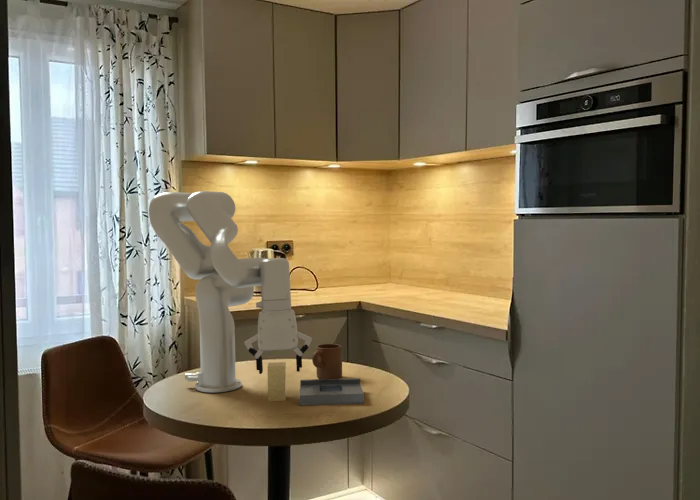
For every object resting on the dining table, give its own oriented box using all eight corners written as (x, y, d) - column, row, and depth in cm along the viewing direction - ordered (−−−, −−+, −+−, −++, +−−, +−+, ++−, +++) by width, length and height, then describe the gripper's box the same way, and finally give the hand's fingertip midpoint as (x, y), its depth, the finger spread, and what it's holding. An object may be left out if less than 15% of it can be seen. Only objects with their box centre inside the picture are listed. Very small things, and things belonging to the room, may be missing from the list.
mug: (324, 385, 175) (324, 352, 175) (302, 382, 179) (302, 349, 179) (347, 376, 186) (346, 345, 185) (325, 373, 190) (325, 342, 189)
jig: (299, 405, 156) (299, 391, 156) (300, 392, 168) (300, 379, 168) (363, 403, 157) (363, 389, 157) (359, 391, 169) (359, 378, 169)
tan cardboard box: (268, 401, 160) (267, 366, 160) (269, 396, 165) (268, 362, 164) (285, 400, 161) (284, 365, 160) (286, 396, 165) (285, 362, 165)
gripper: (241, 309, 157) (244, 376, 158) (310, 305, 158) (313, 372, 159) (244, 306, 165) (247, 370, 165) (310, 302, 166) (313, 367, 166)
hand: (279, 371), depth 162 cm, fingers open, 9 cm apart
